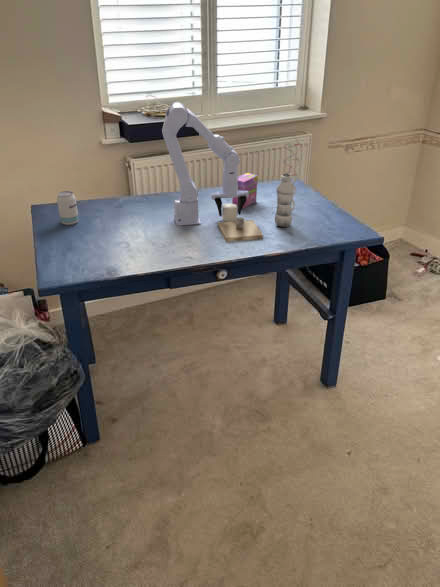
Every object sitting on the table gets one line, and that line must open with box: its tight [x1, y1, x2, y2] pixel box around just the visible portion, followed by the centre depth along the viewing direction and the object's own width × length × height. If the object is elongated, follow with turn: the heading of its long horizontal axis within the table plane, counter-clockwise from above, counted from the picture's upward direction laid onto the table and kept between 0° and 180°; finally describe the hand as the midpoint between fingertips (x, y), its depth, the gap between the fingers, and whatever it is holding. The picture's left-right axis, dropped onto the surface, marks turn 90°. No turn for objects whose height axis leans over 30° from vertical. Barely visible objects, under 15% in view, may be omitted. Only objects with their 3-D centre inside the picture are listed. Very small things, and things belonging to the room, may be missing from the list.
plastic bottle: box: [274, 173, 295, 228], centre depth 192 cm, size 6×7×20 cm
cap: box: [221, 202, 238, 222], centre depth 200 cm, size 5×5×6 cm
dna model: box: [282, 136, 301, 212], centre depth 201 cm, size 7×6×30 cm
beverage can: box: [56, 190, 80, 226], centre depth 194 cm, size 7×7×12 cm
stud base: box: [217, 216, 264, 242], centre depth 190 cm, size 14×14×6 cm
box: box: [231, 172, 259, 210], centre depth 213 cm, size 10×6×12 cm, turn 143°
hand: (229, 214), depth 201 cm, fingers open, 7 cm apart
